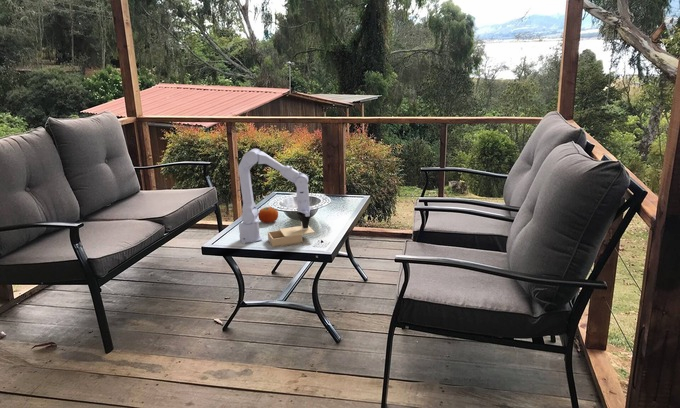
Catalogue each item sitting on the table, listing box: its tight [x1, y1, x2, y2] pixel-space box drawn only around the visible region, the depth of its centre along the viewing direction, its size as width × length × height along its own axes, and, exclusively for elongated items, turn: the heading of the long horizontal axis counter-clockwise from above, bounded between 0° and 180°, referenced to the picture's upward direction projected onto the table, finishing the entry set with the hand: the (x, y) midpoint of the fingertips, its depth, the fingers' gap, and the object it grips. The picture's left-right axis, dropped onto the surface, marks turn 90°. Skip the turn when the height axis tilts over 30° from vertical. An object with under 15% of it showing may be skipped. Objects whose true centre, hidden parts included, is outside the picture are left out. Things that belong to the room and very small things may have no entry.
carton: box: [267, 230, 303, 248], centre depth 242 cm, size 14×12×4 cm
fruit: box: [257, 206, 279, 224], centre depth 274 cm, size 11×10×8 cm
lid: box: [278, 221, 316, 237], centre depth 242 cm, size 14×12×5 cm
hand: (305, 227), depth 244 cm, fingers closed on lid, 2 cm apart
